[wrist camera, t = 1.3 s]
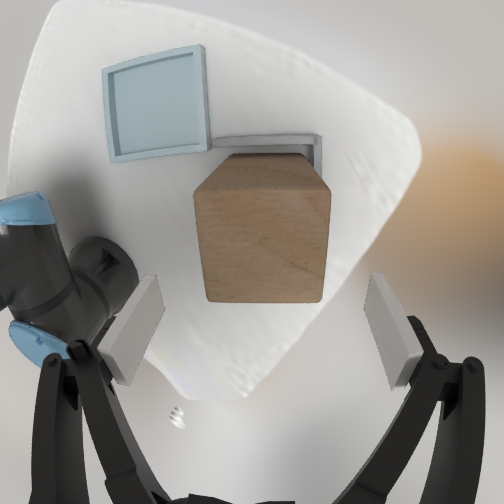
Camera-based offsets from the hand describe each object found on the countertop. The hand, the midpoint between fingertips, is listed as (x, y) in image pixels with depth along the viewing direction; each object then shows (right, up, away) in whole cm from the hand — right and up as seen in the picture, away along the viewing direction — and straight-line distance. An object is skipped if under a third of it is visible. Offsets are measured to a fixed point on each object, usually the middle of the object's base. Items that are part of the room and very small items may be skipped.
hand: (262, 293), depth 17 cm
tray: (-14, +23, +18) cm, 32 cm away
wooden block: (+2, +12, +23) cm, 26 cm away
